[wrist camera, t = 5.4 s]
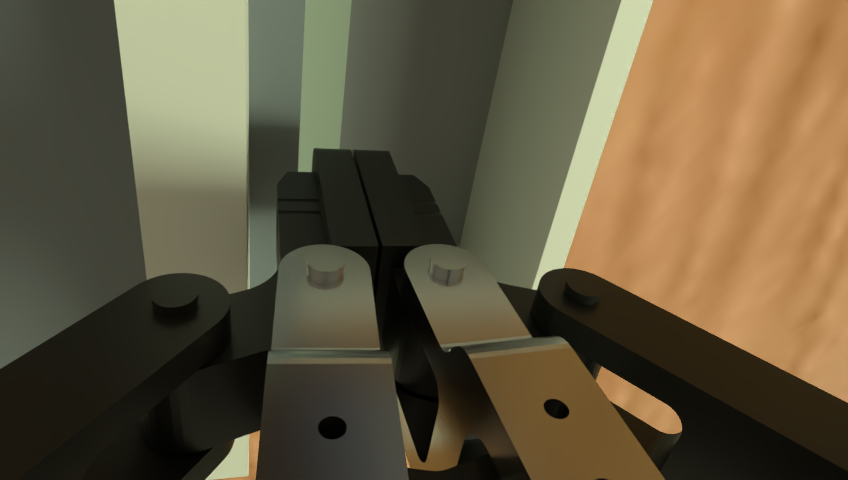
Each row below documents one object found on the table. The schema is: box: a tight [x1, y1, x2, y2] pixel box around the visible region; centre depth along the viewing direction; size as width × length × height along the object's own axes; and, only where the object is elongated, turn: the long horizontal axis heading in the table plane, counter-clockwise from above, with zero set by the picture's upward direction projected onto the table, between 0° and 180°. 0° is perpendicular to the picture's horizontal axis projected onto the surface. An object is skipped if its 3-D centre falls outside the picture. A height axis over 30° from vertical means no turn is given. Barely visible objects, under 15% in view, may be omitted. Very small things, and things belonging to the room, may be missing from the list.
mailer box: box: [298, 0, 653, 290], centre depth 16 cm, size 15×20×7 cm
